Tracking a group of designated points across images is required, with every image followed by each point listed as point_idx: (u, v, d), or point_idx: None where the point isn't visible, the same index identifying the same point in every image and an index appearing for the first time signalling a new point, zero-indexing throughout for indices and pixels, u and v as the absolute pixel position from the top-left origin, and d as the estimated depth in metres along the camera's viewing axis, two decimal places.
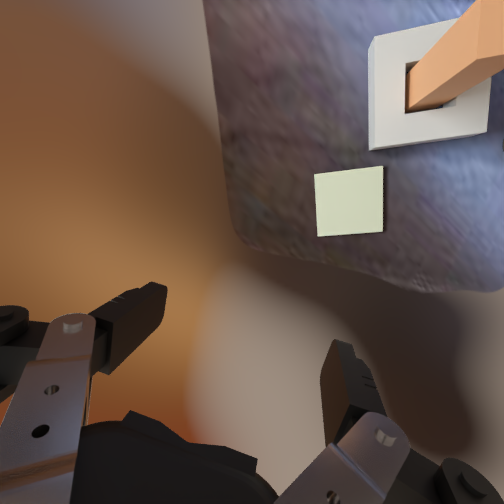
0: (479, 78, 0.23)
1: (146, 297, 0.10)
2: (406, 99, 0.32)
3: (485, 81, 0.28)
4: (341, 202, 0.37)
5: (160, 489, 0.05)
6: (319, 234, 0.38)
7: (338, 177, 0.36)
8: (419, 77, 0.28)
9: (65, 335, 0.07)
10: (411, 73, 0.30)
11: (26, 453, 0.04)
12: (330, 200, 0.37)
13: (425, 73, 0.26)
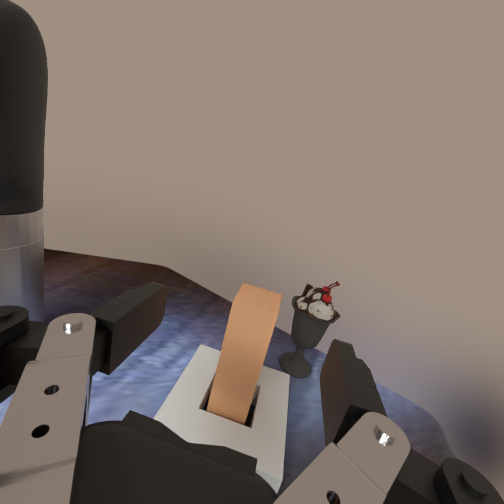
0: None
1: (146, 297, 0.10)
2: None
3: None
4: None
5: (160, 489, 0.05)
6: None
7: None
8: (228, 394, 0.25)
9: (65, 335, 0.07)
10: (211, 407, 0.25)
11: (26, 453, 0.04)
12: None
13: (233, 383, 0.24)
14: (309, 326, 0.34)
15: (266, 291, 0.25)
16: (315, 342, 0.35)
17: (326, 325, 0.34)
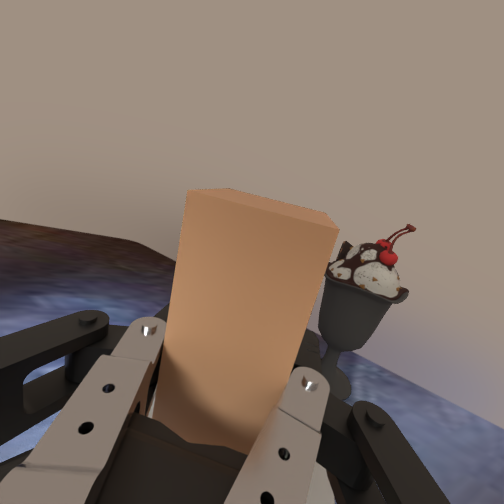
0: None
1: None
2: None
3: None
4: None
5: (160, 489, 0.05)
6: None
7: None
8: None
9: (147, 338, 0.08)
10: None
11: (66, 448, 0.04)
12: None
13: None
14: (356, 309, 0.19)
15: (286, 203, 0.10)
16: (364, 339, 0.20)
17: (386, 307, 0.19)
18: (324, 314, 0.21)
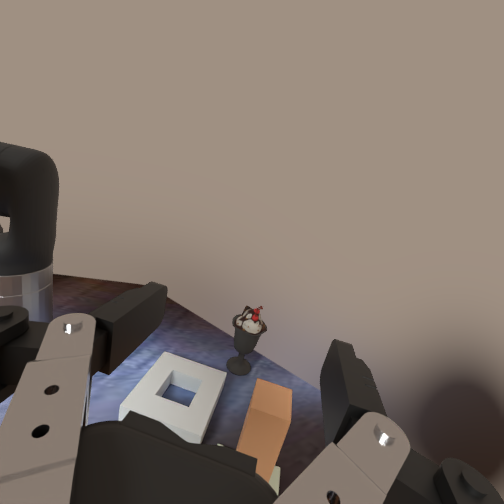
0: None
1: (146, 297, 0.10)
2: None
3: (197, 365, 0.45)
4: None
5: (160, 489, 0.05)
6: None
7: None
8: None
9: (65, 335, 0.07)
10: None
11: (25, 454, 0.04)
12: None
13: None
14: (243, 338, 0.47)
15: (278, 387, 0.28)
16: (249, 349, 0.48)
17: (255, 337, 0.47)
18: (234, 338, 0.49)
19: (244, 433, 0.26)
